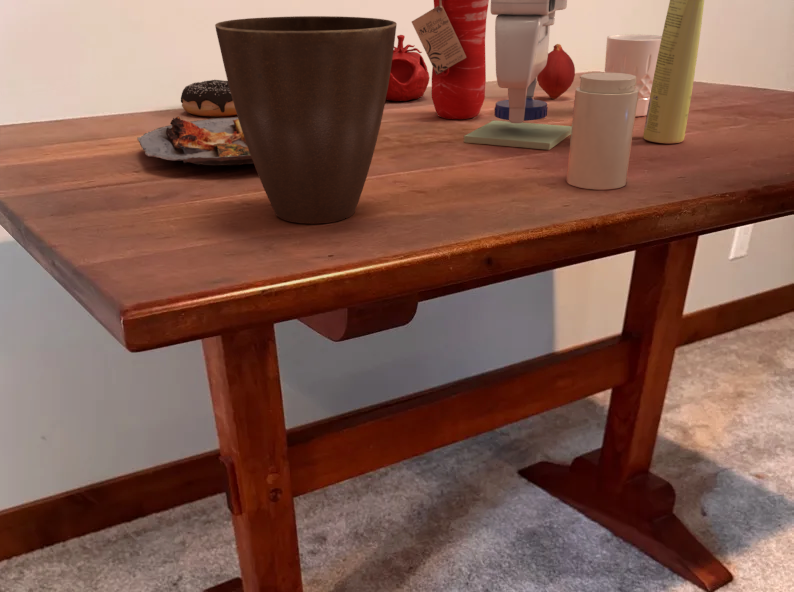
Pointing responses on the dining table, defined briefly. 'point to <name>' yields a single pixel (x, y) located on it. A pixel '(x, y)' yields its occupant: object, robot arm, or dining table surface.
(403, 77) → the red tomato holder
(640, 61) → the white cup
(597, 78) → the white jar
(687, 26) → the tube
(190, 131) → the food plate
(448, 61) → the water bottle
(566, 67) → the onion
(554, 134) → the mat
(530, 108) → the jar lid
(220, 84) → the donut
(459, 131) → the dining table surface
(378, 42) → the flower pot
